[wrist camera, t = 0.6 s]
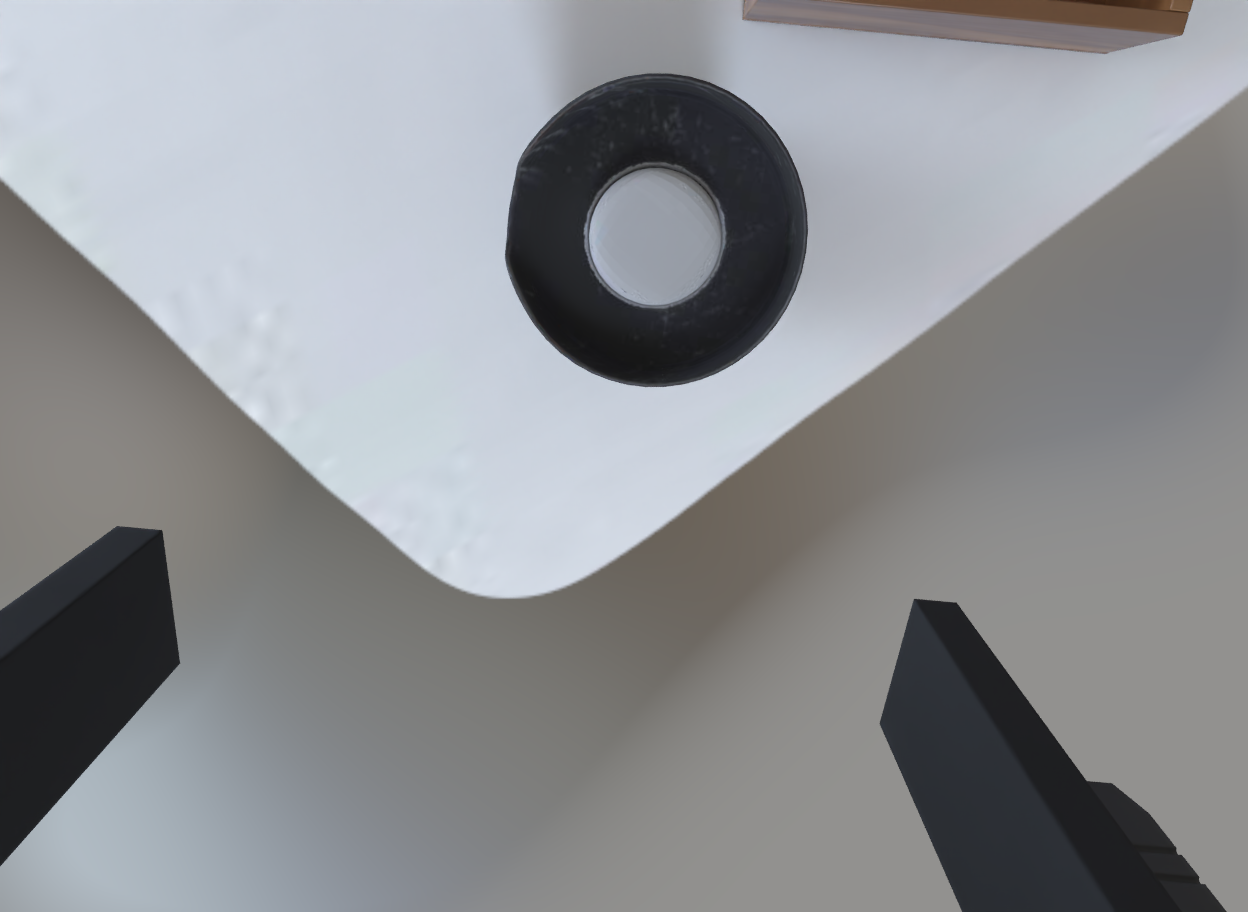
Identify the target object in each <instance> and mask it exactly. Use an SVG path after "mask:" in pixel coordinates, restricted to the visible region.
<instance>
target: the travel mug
mask: <svg viewBox="0 0 1248 912" xmlns="http://www.w3.org/2000/svg"><path fill="white" fill-rule="evenodd" d="M807 234H808V225H807V209H806V203H805V197H804V192H803V188H802V185H801V181H800V178H799V175H798V172H797V169H796V167H795V165H794V163H793V161H792V158H791V156H790V154H789V152H788V150H787V148H786V147H785V145H784V144H783V142H782V141H781V139H780V138H779V136H778V135H777V133H776V132H775V131H774V130H773V128H772V127H771V126H770V125H769V124H768V123H767V121H766V120H765V119H764V118H763V117H762V116H761V115H760V114H759V113H758V112H756V111H755V110H754V109H753V108H752V107H751V106H750V105H748V104H747V103H746V102H744V101H743V100H741V99H740V98H738V97H737V96H735V95H734V94H732V93H731V92H729V91H727V90H725V89H723V88H721V87H718V86H716V85H714V84H712V83H710V82H706V81H703V80H699V79H696V78H693V77H689V76H682V75H675V74H642V75H635V76H628V77H624V78H621V79H617V80H614V81H611V82H607V83H605V84H603V85H601V86H598V87H596V88H594V89H592V90H590V91H587V92H586V93H584V94H583V95H581V96H580V97H578V98H576V99H575V100H573V101H572V102H570V103H569V104H568V105H566V106H565V107H564V108H563V109H562V110H560V111H559V112H558V113H557V114H556V115H554V116H553V117H552V118H551V119H550V120H549V121H548V122H547V124H546V125H545V126H544V127H543V128H542V129H541V130H540V131H539V132H538V133H537V135H536V136H535V137H534V138H533V140H532V141H531V142H530V143H529V145H528V146H527V148H526V149H525V151H524V152H523V154H522V156H521V158H520V160H519V162H518V165H517V170H516V177H515V181H514V186H513V191H512V197H511V202H510V208H509V217H508V227H507V241H506V250H505V260H506V266H507V270H508V273H509V276H510V279H511V281H512V284H513V286H514V289H515V291H516V293H517V295H518V297H519V299H520V301H521V303H522V305H523V307H524V309H525V311H526V312H527V314H528V315H529V317H530V319H531V320H532V322H533V323H534V325H535V326H536V327H537V329H538V330H539V331H540V332H541V333H542V335H543V336H544V337H545V338H546V340H548V341H549V342H550V343H551V344H552V345H553V346H554V347H555V348H556V349H557V350H558V351H559V352H560V353H561V354H563V355H564V356H565V357H567V358H568V359H570V360H571V361H572V362H574V363H575V364H577V365H578V366H580V367H582V368H584V369H586V370H587V371H589V372H591V373H593V374H596V375H598V376H601V377H603V378H606V379H608V380H611V381H615V382H619V383H623V384H627V385H635V386H642V387H666V386H674V385H682V384H686V383H690V382H694V381H698V380H701V379H703V378H706V377H709V376H711V375H714V374H716V373H718V372H720V371H722V370H724V369H726V368H727V367H729V366H731V365H733V364H735V363H736V362H737V361H739V360H740V359H741V358H743V357H744V356H746V355H747V354H748V353H750V352H751V351H752V350H753V349H754V348H755V347H756V346H757V345H758V344H759V343H760V342H761V341H763V340H764V338H765V337H766V336H767V335H768V334H769V332H770V331H771V330H772V329H773V328H774V327H775V325H776V324H777V322H778V321H779V319H780V318H781V316H782V315H783V313H784V312H785V310H786V309H787V307H788V305H789V303H790V301H791V298H792V296H793V294H794V292H795V290H796V287H797V284H798V281H799V279H800V276H801V273H802V269H803V264H804V259H805V254H806V247H807Z"/></svg>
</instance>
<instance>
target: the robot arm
mask: <svg viewBox="0 0 1248 912" xmlns="http://www.w3.org/2000/svg"><path fill="white" fill-rule="evenodd" d="M179 664H180V660H179V652H178V645H177V638H176V630H175V622H174V615H173V608H172V600H171V592H170V585H169V578H168V570H167V562H166V555H165V547H164V540H163V532H162V530H153V529H141V528H131V527H120V526H117V527H115V528H114V529H112V530H111V531H110V532H108V533H107V534H106V535H104V536H103V537H102V538H100V539H99V540H97V541H96V542H95V543H93V544H92V545H90V546H89V547H88V548H86V549H85V550H83V551H82V552H81V553H79V554H78V555H77V556H75V557H74V558H72V559H71V560H70V561H68V562H67V563H66V564H64V565H63V566H61V567H60V568H59V569H57V570H56V571H54V572H53V573H52V574H50V575H49V576H48V577H46V578H45V579H43V580H42V581H41V582H39V583H38V584H36V585H35V586H34V587H32V588H31V589H30V590H28V591H27V592H25V593H24V594H23V595H21V596H20V597H19V598H17V599H16V600H14V601H13V602H12V603H10V604H9V605H8V606H6V607H5V608H3V609H2V610H1V611H0V866H1V865H2V864H3V863H4V861H5V860H6V859H7V858H8V857H9V856H10V855H11V853H12V852H13V851H14V850H15V849H16V848H17V847H18V846H19V845H20V843H21V842H22V841H23V840H24V839H25V838H26V837H27V835H28V834H29V833H30V832H31V831H32V830H33V829H34V828H35V826H36V825H37V824H38V823H39V822H40V821H41V820H42V819H43V817H44V816H45V815H46V814H47V813H48V812H49V811H50V810H51V808H52V807H53V806H54V805H55V804H56V803H57V802H58V800H59V799H60V798H61V797H62V796H63V795H64V794H65V793H66V791H67V790H68V789H69V788H70V787H71V786H72V785H73V784H74V782H75V781H76V780H77V779H78V778H79V777H80V776H81V774H82V773H83V772H84V771H85V770H86V769H87V768H88V767H89V765H90V764H91V763H92V762H93V761H94V760H95V759H96V758H97V756H98V755H99V754H100V753H101V752H102V751H103V750H104V749H105V747H106V746H107V745H108V744H109V743H110V741H112V739H113V738H114V737H115V736H116V735H117V734H118V732H120V730H121V729H122V728H123V727H124V726H125V725H126V723H128V721H129V720H130V719H131V718H132V717H133V716H134V715H135V714H136V712H137V711H138V710H139V709H140V708H141V707H142V706H143V704H144V703H145V702H146V701H147V700H148V699H149V698H150V697H151V695H152V694H153V693H154V692H155V691H156V690H157V689H158V688H159V686H160V685H161V684H162V683H163V682H164V681H165V680H166V679H167V677H168V676H169V675H170V674H171V673H172V672H173V670H174V669H175V668H176V667H177V666H178V665H179ZM880 725H881V728H882V730H883V732H884V735H885V737H886V739H887V741H888V744H889V746H890V748H891V750H892V753H893V755H894V757H895V760H896V762H897V764H898V767H899V769H900V771H901V773H902V776H903V778H904V780H905V782H906V785H907V787H908V789H909V792H910V794H911V796H912V798H913V801H914V803H915V805H916V808H917V809H918V812H919V814H920V817H921V819H922V821H923V823H924V826H925V828H926V830H927V832H928V835H929V837H930V839H931V842H932V844H933V846H934V848H935V851H936V853H937V855H938V857H939V860H940V862H941V864H942V867H943V869H944V871H945V874H946V876H947V878H948V880H949V883H950V885H951V887H952V889H953V892H954V894H955V896H956V899H957V901H958V903H959V905H960V908H961V910H962V912H1226V910H1225V909H1224V908H1223V907H1222V905H1221V904H1220V903H1219V902H1218V900H1217V899H1216V898H1215V896H1214V895H1213V894H1212V893H1211V891H1210V890H1209V889H1208V888H1207V886H1206V885H1205V884H1200V882H1199V876H1198V875H1197V874H1196V872H1195V871H1194V870H1193V869H1192V867H1191V866H1190V865H1189V864H1188V863H1187V861H1186V860H1185V858H1184V857H1183V856H1182V855H1178V854H1177V852H1176V847H1175V846H1174V844H1173V843H1172V842H1171V841H1170V839H1169V838H1168V837H1167V836H1166V834H1165V833H1164V832H1163V831H1162V829H1161V828H1160V827H1159V825H1158V824H1157V823H1156V822H1155V820H1154V819H1153V818H1152V817H1151V815H1150V814H1149V813H1148V812H1146V811H1145V810H1144V809H1143V808H1142V807H1140V806H1139V805H1138V804H1137V803H1135V802H1134V801H1133V800H1132V799H1130V798H1129V797H1128V796H1127V795H1126V794H1124V793H1123V792H1122V791H1121V790H1119V789H1118V788H1117V787H1116V786H1115V785H1113V784H1112V783H1101V782H1090V781H1086V780H1085V778H1084V777H1083V775H1082V774H1081V773H1080V771H1079V770H1078V769H1077V767H1076V766H1075V764H1074V763H1073V762H1072V760H1071V759H1070V758H1069V757H1068V755H1067V754H1066V752H1065V751H1064V749H1063V748H1062V747H1061V745H1060V744H1059V743H1058V741H1057V740H1056V738H1055V737H1054V736H1053V734H1052V733H1051V732H1050V731H1049V729H1048V727H1047V726H1046V725H1045V723H1044V722H1043V721H1042V719H1041V718H1040V717H1039V715H1038V714H1037V713H1036V711H1035V710H1034V708H1033V707H1032V706H1031V704H1030V703H1029V701H1028V700H1027V699H1026V697H1025V696H1024V695H1023V693H1022V692H1021V691H1020V689H1019V688H1018V686H1017V685H1016V684H1015V682H1014V681H1013V680H1012V678H1011V677H1010V675H1009V674H1008V673H1007V671H1006V670H1005V669H1004V667H1003V666H1002V664H1001V663H1000V662H999V660H998V659H997V658H996V656H995V655H994V654H993V652H992V651H991V649H990V648H989V647H988V645H987V644H986V643H985V641H984V640H983V638H982V637H981V636H980V634H979V633H978V632H977V630H976V629H975V628H974V626H973V625H972V623H971V622H970V621H969V619H968V618H967V617H966V615H965V614H964V612H963V611H962V610H961V608H960V607H959V605H958V604H957V603H953V602H941V601H931V600H920V599H914V601H913V605H912V608H911V612H910V616H909V619H908V623H907V626H906V630H905V633H904V637H903V641H902V644H901V648H900V652H899V655H898V659H897V663H896V666H895V670H894V673H893V677H892V681H891V684H890V688H889V692H888V695H887V699H886V702H885V706H884V710H883V714H882V717H881V721H880Z"/></svg>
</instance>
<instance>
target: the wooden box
mask: <svg viewBox="0 0 1248 912" xmlns="http://www.w3.org/2000/svg"><path fill="white" fill-rule="evenodd" d="M1192 3H1193V0H745V3H744V11H743V20H751V21H762V22H772V23H783V24H793V25H804V26H815V27H825V28H836V29H846V30H857V31H868V32H878V33H889V34H899V35H910V36H921V37H931V38H942V39H952V40H963V41H974V42H984V43H995V44H1005V45H1016V46H1027V47H1037V48H1048V49H1058V50H1069V51H1080V52H1090V53H1101V54H1106V53H1109V52H1113V51H1117V50H1122V49H1126V48H1130V47H1134V46H1138V45H1143V44H1147V43H1151V42H1155V41H1160V40H1164V39H1168V38H1172V37H1177V36H1180V35H1182V34H1183V32H1184V29H1185V25H1186V22H1187V19H1188V15H1189V13H1187V12H1190V9H1191V6H1192Z"/></svg>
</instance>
